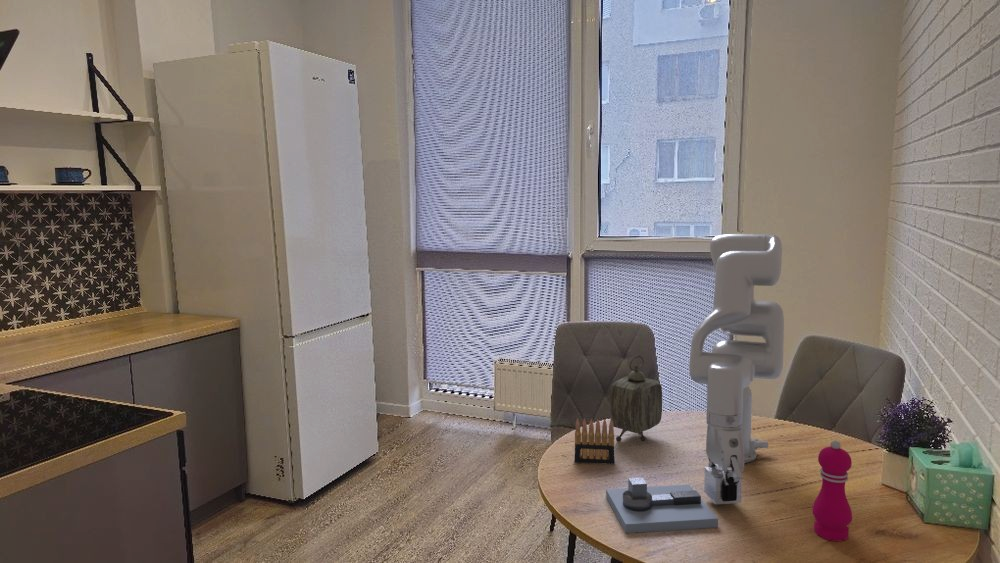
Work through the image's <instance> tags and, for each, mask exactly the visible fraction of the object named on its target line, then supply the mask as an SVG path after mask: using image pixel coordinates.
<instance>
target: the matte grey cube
mask: <svg viewBox="0 0 1000 563" xmlns="http://www.w3.org/2000/svg"><path fill="white" fill-rule="evenodd" d="M727 470H732V469H731V467H729V468H727ZM727 476H728V478H729V477H732V473H727ZM703 481H704V482H703V483H704V485H703V486H704V488H703V491H704V494H706V496H707V497H708V498H709V499H710V500H711V502H712V503H713V504H714V505H726V504H727V505H728V504H739V503H741V504H742V492H743V490H742V488H743V487H742V486H743V484H742V483H743V477H742V478H741V479H740V480H739V482H738V485H737V500H736V501H725V502H724V501H723V500H722V484H724V479H723V472H722V471H721V470H720V469H719V468H718V467H717V466H716V467H709V466H704V480H703Z"/></svg>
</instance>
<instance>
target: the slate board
mask: <svg viewBox="0 0 1000 563" xmlns="http://www.w3.org/2000/svg"><path fill="white" fill-rule="evenodd" d="M627 490H628V487H624V488H623V487H619V488H607V489H605V498H606V499H607V502H608V503H609V505H610V507H611V509H612V511H613V513H614V512H615V513H614V514H616V515H615V516H616V518H617V520H618V522H619V524H620V523H621V524H620V526H621V525H622V526H621V527H623V528H622V529H623V531H624V533H625V534H634V533H635V532H638V533H650V532H665V531H666V532H668V531H681V530H699V529H713V528H719V517H717V515H716V514H715V513H714V511H712V510H711V509H710V507H709V506H708V505H707V504H706V502H704V500H703V499H702V498H701V504H689V505H665V506H652V508H651V509H650V510H647V511H642V512H638V511H632V510H629V509H627V508H625V507H624V506H623V493H624V492H625V491H627ZM693 490H694V489H693V487H692V486H690V484H675V485H673V484H672V485H659V486H658V485H657V486H647V492H648V493H650V494H651V495H661V494H670V492H676V491H693Z"/></svg>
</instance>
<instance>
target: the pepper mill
mask: <svg viewBox="0 0 1000 563" xmlns="http://www.w3.org/2000/svg"><path fill="white" fill-rule="evenodd" d="M817 456H818V457H817V460H818V463H819V466H820V467H821V468H820V469H819V470H820V472H819V473H820V474H819V475H820V477H821V482H822V483H821V487H820V491H819V492H818V495H817V496H816V497H815V500H814V502H813V504H812V510H811V511H812V515H813V517H814V518H815V519H816V520H815V521H814V523H813V524H814V525H813V530H814V532H815V534H816V535H818V536H819V537H821V538H822V539H826V540H828V541H831V542H832V541H834V542H842V541H843V542H844V541H846V540H847V539H849V532H850V530H849V525H850V524H851V523H852V520H853V512H852V508H851V506H850V504H849V500H848V498H847V494H846V483H847V482H848V480H849V479H848V478H849V477H848V476H849V473H848V471H849V470H851V467H852V458H851V456H850V454H849V453H848V451H846V450H845V449H843V448H842V447H841V443H840V442H839V441H838V440H834V439H833V440H832V441H831V442H830V446H826V447H824V448H822V449H821V450H820V451H819V453H818V455H817Z"/></svg>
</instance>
